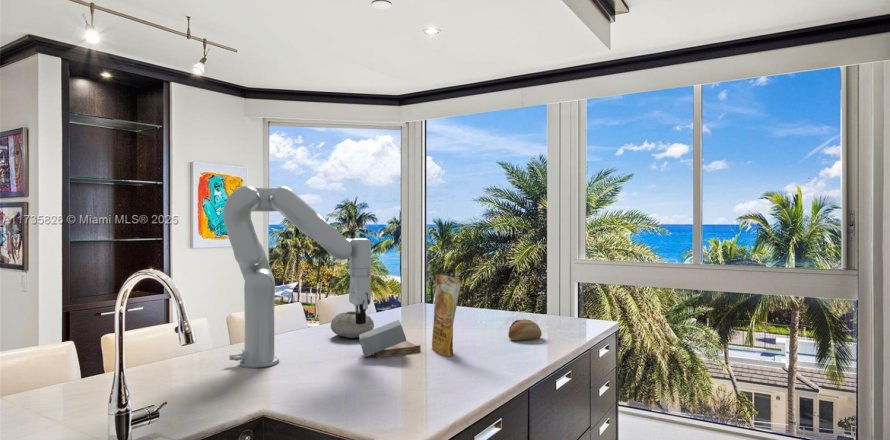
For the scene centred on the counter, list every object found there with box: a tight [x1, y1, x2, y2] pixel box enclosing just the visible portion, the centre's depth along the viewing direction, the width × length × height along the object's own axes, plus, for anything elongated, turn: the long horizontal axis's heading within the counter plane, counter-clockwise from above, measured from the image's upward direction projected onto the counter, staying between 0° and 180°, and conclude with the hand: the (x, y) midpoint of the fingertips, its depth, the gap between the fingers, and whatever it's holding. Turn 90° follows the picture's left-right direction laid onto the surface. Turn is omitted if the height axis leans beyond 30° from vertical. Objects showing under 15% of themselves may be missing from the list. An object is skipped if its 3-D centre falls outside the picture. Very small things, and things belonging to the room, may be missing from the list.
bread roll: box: [507, 318, 542, 341], centre depth 214 cm, size 10×15×8 cm, turn 115°
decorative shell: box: [330, 310, 375, 339], centre depth 218 cm, size 18×18×10 cm
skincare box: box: [358, 319, 407, 358], centre depth 187 cm, size 8×7×16 cm
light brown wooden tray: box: [372, 340, 422, 358], centre depth 194 cm, size 17×13×2 cm
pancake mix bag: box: [431, 273, 462, 358], centre depth 193 cm, size 7×19×28 cm, turn 22°
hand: (360, 323), depth 188 cm, fingers closed
